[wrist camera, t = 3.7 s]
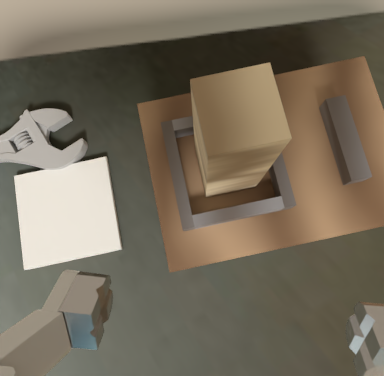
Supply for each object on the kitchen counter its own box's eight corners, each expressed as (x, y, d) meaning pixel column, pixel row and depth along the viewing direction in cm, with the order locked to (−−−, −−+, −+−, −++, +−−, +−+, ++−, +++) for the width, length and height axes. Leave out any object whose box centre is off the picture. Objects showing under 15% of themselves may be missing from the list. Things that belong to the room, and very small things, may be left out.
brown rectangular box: (326, 104, 34) (374, 43, 24) (365, 228, 31) (436, 215, 22) (152, 140, 34) (133, 94, 24) (178, 268, 31) (167, 273, 22)
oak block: (243, 139, 25) (269, 62, 15) (255, 187, 24) (292, 138, 14) (195, 150, 25) (190, 79, 15) (205, 197, 24) (207, 156, 14)
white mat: (107, 158, 33) (105, 156, 33) (122, 249, 32) (121, 249, 31) (17, 177, 33) (14, 176, 33) (27, 269, 31) (24, 270, 31)
